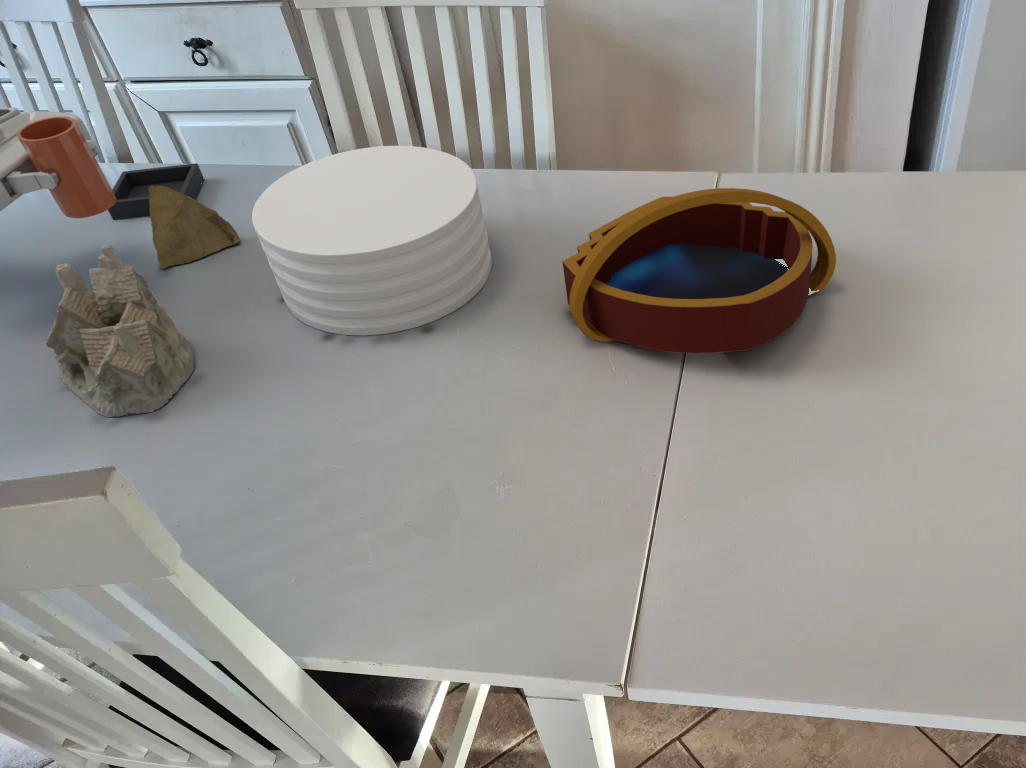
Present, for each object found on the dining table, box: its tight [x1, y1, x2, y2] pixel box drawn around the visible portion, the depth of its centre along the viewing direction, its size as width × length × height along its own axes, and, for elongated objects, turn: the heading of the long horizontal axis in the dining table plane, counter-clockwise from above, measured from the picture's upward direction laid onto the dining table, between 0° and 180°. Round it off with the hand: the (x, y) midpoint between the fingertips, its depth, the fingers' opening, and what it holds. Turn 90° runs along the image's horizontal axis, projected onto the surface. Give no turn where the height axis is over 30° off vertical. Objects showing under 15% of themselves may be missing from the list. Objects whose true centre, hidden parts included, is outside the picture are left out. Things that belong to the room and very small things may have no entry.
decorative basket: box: [561, 187, 837, 354], centre depth 101 cm, size 34×29×15 cm
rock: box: [149, 185, 241, 270], centre depth 118 cm, size 11×9×10 cm
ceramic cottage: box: [44, 243, 196, 418], centre depth 96 cm, size 16×16×15 cm
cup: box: [17, 116, 116, 219], centre depth 104 cm, size 6×6×10 cm
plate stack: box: [251, 145, 493, 336], centre depth 110 cm, size 28×28×12 cm
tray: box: [107, 162, 205, 221], centre depth 131 cm, size 12×11×3 cm
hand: (75, 164), depth 103 cm, fingers closed on cup, 6 cm apart
